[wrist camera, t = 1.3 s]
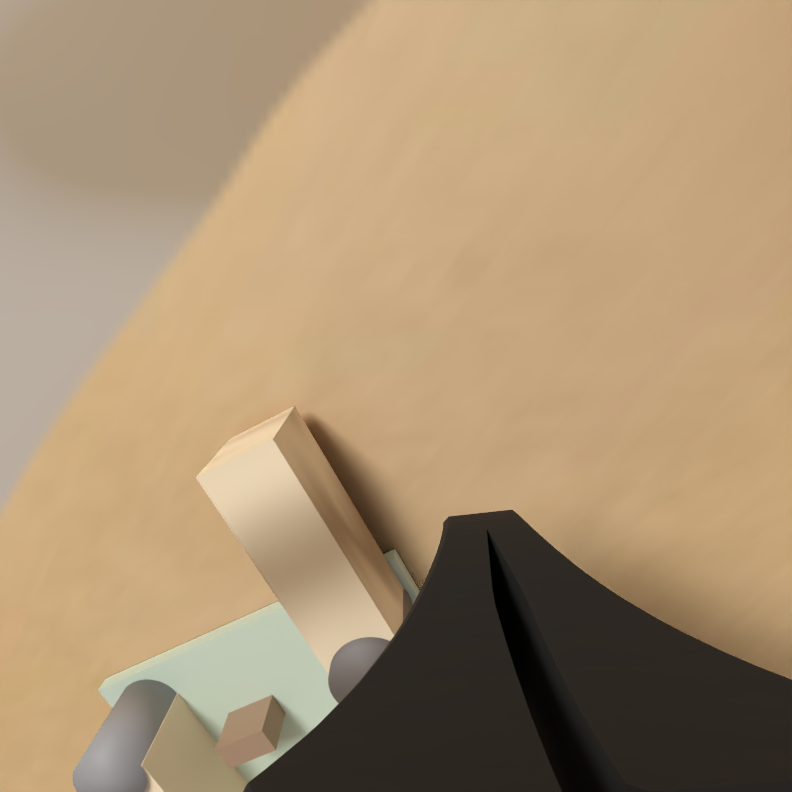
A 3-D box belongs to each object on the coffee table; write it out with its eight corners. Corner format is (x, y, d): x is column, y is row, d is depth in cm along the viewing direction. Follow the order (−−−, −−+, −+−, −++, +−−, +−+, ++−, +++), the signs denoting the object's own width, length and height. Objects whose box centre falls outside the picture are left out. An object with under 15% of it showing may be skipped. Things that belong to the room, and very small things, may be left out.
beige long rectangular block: (425, 621, 20) (428, 697, 17) (362, 648, 20) (353, 727, 17) (296, 405, 18) (270, 443, 14) (228, 439, 18) (189, 484, 15)
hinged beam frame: (537, 792, 23) (562, 896, 19) (274, 886, 25) (251, 998, 21) (395, 549, 20) (391, 619, 16) (106, 678, 22) (45, 767, 18)
